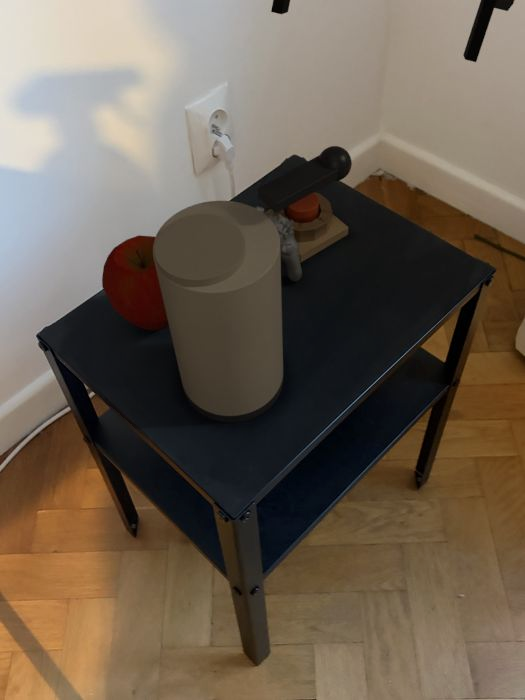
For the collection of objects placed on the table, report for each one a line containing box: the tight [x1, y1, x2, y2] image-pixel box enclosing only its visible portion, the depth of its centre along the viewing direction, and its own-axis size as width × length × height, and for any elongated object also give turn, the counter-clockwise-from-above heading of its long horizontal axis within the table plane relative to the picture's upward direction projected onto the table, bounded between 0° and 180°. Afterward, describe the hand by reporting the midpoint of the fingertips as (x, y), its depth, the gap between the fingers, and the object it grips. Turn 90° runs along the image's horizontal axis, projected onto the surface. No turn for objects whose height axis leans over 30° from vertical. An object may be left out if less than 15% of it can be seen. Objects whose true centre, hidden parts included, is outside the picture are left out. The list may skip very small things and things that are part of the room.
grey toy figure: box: [253, 205, 303, 282], centre depth 77 cm, size 9×12×8 cm
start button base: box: [264, 191, 349, 264], centre depth 83 cm, size 8×7×3 cm
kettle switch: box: [257, 145, 352, 213], centre depth 59 cm, size 3×8×3 cm, turn 127°
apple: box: [101, 235, 169, 331], centre depth 73 cm, size 9×8×11 cm
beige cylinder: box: [153, 200, 284, 423], centre depth 64 cm, size 10×10×20 cm
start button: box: [287, 193, 319, 223], centre depth 81 cm, size 4×4×2 cm
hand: (373, 35), depth 51 cm, fingers open, 13 cm apart
